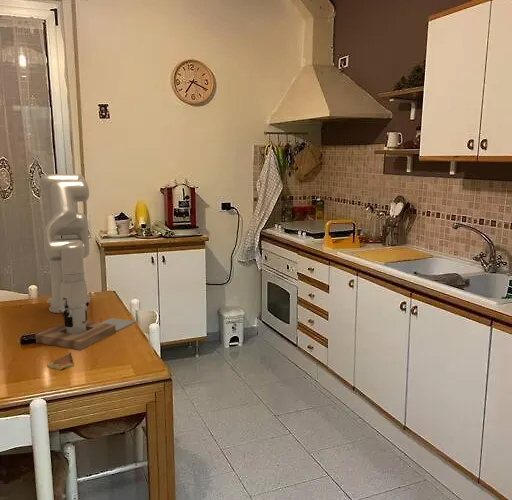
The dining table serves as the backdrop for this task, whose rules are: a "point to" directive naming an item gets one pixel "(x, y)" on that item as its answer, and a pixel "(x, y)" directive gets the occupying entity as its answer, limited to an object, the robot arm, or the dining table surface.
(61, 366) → the shard
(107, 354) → the dining table surface
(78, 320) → the skincare box
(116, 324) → the grey mat
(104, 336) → the walnut holder
